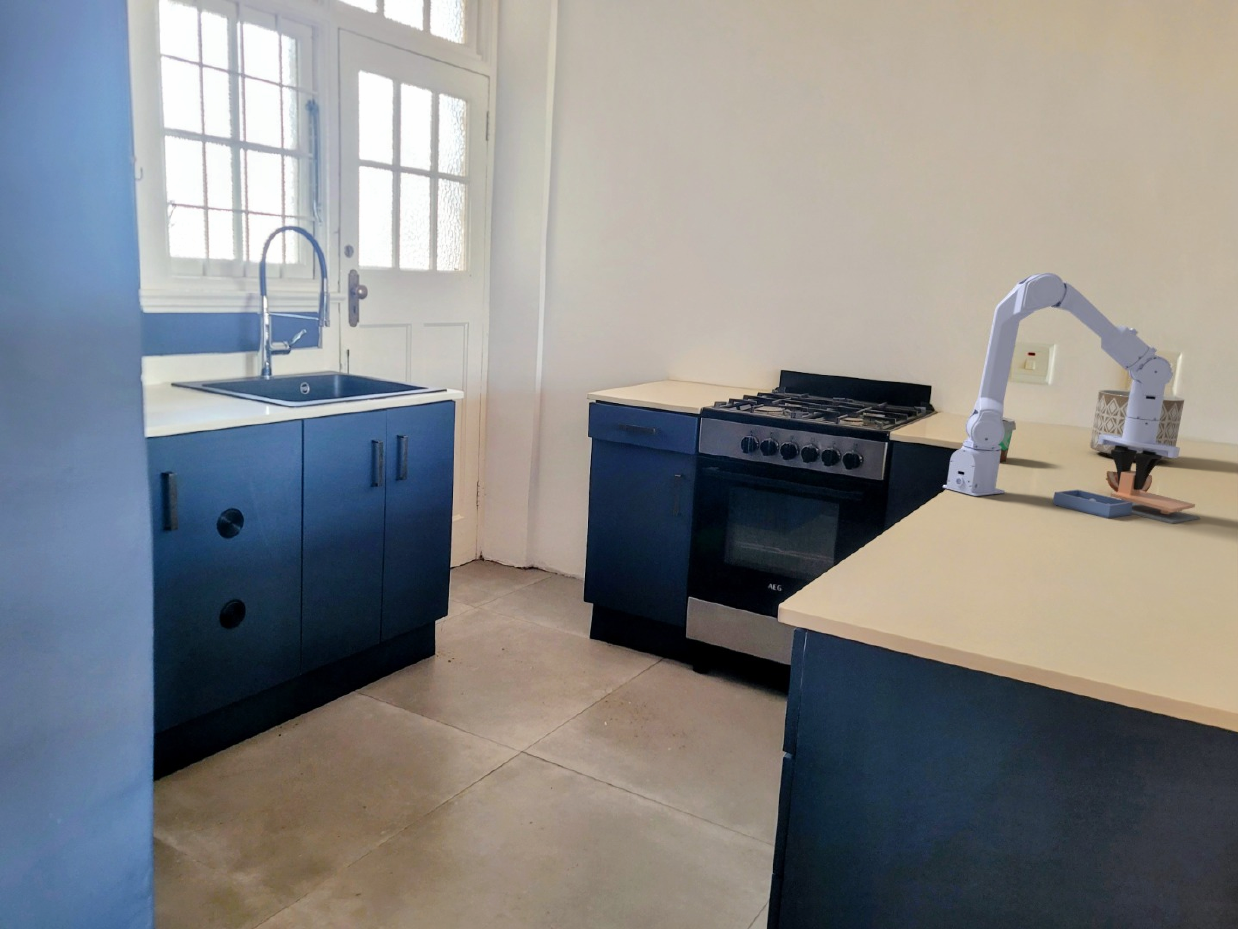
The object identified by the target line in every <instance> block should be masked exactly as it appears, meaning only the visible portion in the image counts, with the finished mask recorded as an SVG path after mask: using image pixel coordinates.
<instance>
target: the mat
mask: <svg viewBox="0 0 1238 929" xmlns="http://www.w3.org/2000/svg"><path fill="white" fill-rule="evenodd" d="M1131 515H1135V516H1139V517H1143V518H1147V519H1151V520H1156V521H1160V522H1163V523H1168V524H1171V525H1172V524H1178V523H1184V522H1189V521H1195V520H1196V521H1197V520H1200V519H1201V517H1200V516H1198V515H1193V514H1190V513H1184V512H1182V511H1176V512H1171V513H1170V514H1164V513H1161V509H1157V508H1153V507H1149V506H1145V505H1141V504H1138V503H1134V502H1133V504H1132V509H1131Z"/></svg>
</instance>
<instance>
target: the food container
mask: <svg viewBox="0 0 1238 929" xmlns="http://www.w3.org/2000/svg"><path fill="white" fill-rule="evenodd" d="M1002 422H1003V426H1004V429H1005V435H1004V438H1003V440H1002V441H1001V443H1000V444H998V445H999V446H1001V447H1002V448H1001V455H1000V462H999V463H1005V462H1006V461H1007V457H1008V453H1009V449H1010V443H1011V438H1012V436H1013V435H1012V434H1013V431H1016V429H1017V426H1016V425H1017V424H1016V422H1015V419H1013V418H1011V417H1010V418H1009V417H1006V416H1003V418H1002Z"/></svg>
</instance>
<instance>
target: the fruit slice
mask: <svg viewBox="0 0 1238 929" xmlns="http://www.w3.org/2000/svg"><path fill="white" fill-rule="evenodd" d="M1105 480H1106V481H1107V484H1108V486H1110V488H1111V489H1112V490H1113V491H1114V493H1115V492H1118V488H1119V486H1118V475H1117V471H1111V470H1108V471H1106V478H1105ZM1152 483H1153V477H1152V475H1151V474H1149V476H1148V478H1147V479H1146V481H1145V484H1144V486H1143V488H1142V489H1140V491H1144V492H1148V491H1149V489H1150V488H1151V486H1152Z"/></svg>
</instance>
